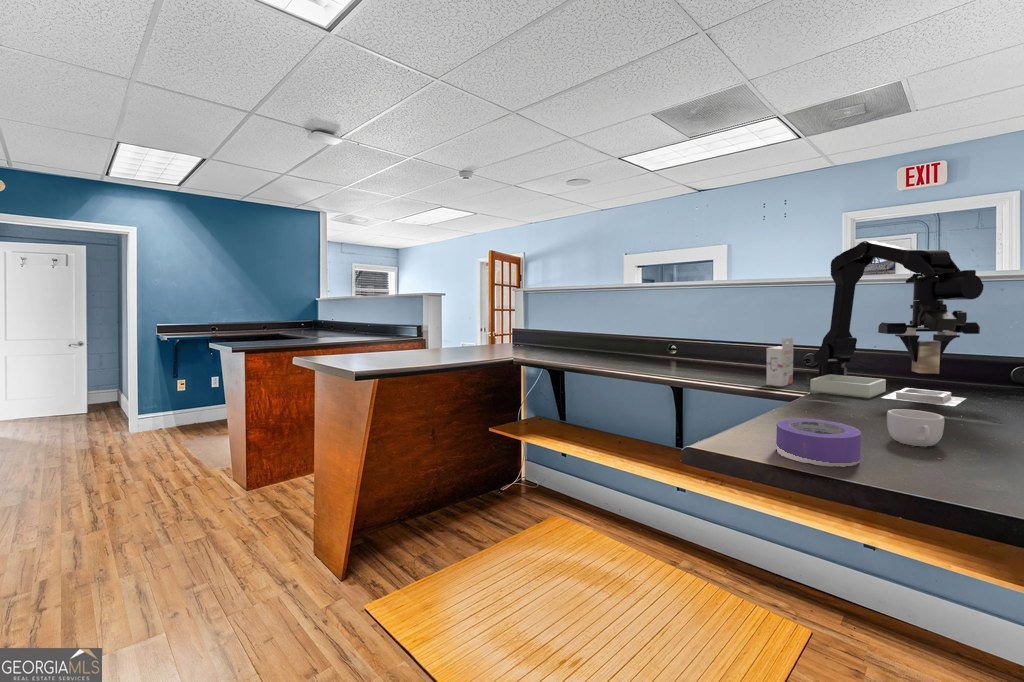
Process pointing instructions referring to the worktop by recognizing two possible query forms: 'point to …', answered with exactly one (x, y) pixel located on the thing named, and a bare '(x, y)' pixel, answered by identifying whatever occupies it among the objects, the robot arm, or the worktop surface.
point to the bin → (848, 386)
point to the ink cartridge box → (780, 364)
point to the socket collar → (925, 396)
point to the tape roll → (819, 440)
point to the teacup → (915, 427)
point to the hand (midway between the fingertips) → (925, 362)
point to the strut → (927, 357)
